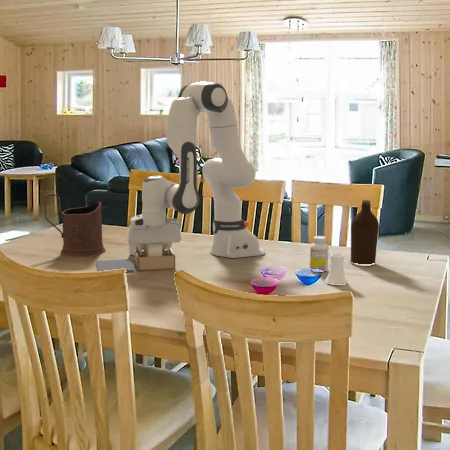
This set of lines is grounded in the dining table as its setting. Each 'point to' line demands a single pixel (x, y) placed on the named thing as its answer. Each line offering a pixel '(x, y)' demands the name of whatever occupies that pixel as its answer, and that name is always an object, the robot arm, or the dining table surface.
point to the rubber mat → (115, 265)
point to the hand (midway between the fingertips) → (154, 254)
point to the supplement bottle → (319, 254)
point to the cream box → (154, 249)
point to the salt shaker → (336, 270)
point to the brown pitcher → (80, 230)
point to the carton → (154, 259)
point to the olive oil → (364, 235)
